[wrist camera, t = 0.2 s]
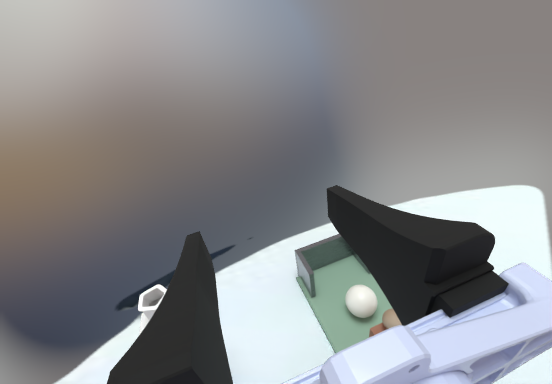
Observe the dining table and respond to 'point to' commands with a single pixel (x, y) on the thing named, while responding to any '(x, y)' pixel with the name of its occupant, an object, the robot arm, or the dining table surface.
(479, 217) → the dining table surface
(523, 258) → the dining table surface
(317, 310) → the pitch mat
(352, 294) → the ball
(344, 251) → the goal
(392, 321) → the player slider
